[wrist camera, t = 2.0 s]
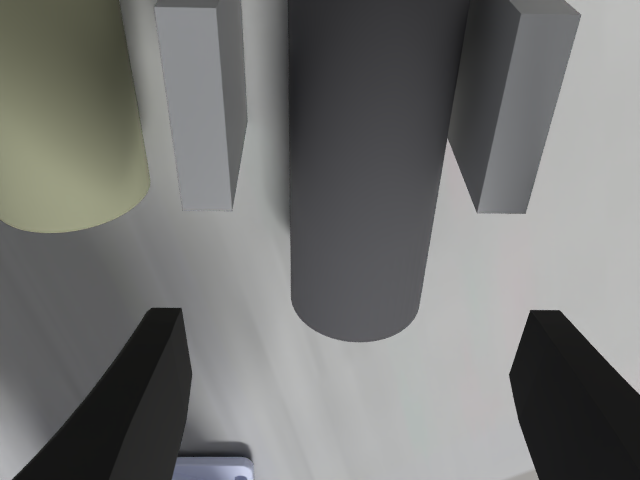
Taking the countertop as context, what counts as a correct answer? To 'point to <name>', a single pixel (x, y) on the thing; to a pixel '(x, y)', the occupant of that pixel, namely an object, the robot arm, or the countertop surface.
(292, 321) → the countertop surface
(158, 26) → the rectangular blocks
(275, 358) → the countertop surface
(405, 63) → the dark grey cylinder
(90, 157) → the olive yellow cylinder
